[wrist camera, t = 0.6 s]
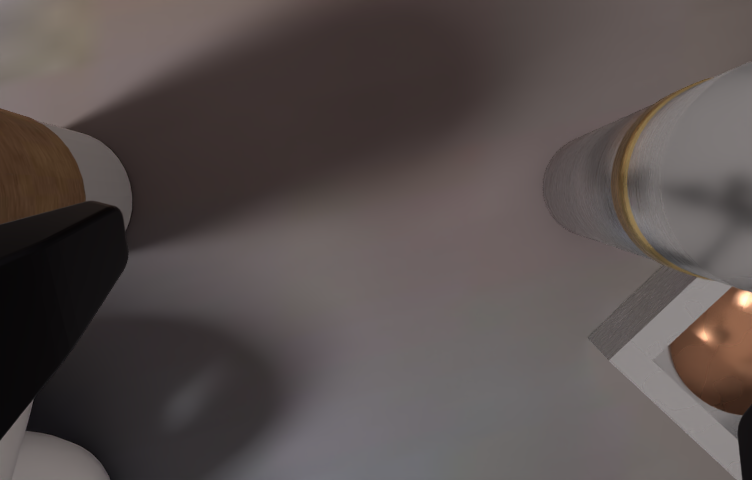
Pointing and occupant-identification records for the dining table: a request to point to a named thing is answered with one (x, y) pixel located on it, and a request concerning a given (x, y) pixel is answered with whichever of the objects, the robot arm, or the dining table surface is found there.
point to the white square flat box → (688, 355)
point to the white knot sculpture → (44, 456)
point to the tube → (667, 181)
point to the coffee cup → (55, 169)
